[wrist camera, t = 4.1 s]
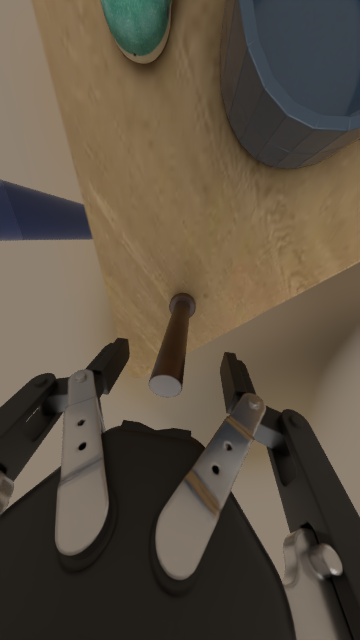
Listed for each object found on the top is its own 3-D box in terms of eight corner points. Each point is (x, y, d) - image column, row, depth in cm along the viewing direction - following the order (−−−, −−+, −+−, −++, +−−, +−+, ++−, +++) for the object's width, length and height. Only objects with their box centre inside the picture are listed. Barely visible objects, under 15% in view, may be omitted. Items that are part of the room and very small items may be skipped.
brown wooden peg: (170, 314, 23) (139, 400, 11) (171, 291, 22) (136, 362, 9) (193, 317, 23) (189, 407, 11) (196, 294, 21) (196, 370, 9)
